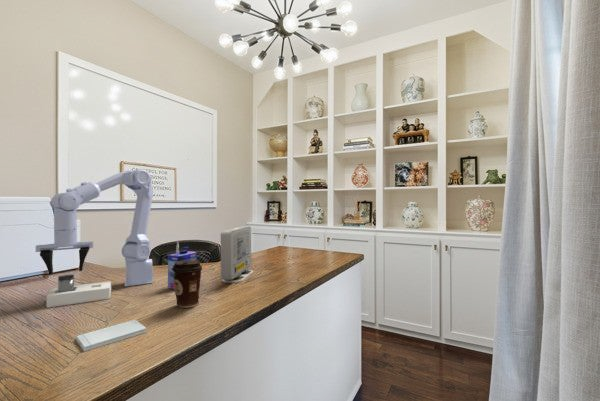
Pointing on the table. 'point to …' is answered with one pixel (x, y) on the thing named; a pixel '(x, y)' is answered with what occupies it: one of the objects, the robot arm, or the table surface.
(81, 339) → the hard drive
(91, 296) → the block
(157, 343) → the table surface
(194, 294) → the coffee cup
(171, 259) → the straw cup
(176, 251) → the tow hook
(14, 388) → the table surface
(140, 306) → the table surface
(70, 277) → the pipe stub
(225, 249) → the network device
